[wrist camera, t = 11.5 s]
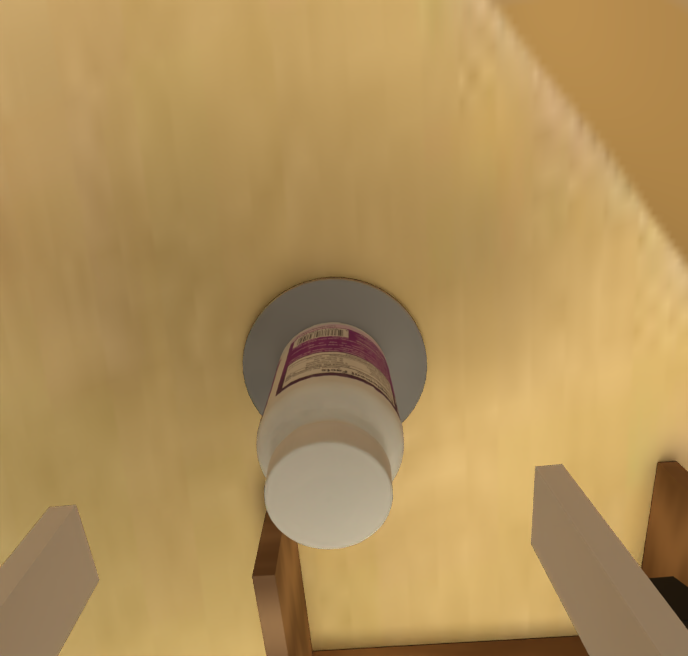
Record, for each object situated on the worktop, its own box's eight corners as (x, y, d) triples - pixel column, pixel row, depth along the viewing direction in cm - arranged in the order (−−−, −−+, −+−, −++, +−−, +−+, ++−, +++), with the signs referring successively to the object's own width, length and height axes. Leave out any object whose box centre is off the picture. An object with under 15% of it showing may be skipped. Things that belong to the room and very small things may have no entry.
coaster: (211, 384, 25) (208, 389, 24) (311, 239, 23) (310, 241, 22) (355, 470, 27) (355, 477, 26) (462, 345, 24) (464, 349, 24)
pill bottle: (355, 434, 25) (362, 592, 16) (261, 391, 24) (212, 532, 15) (408, 348, 24) (448, 469, 15) (309, 298, 23) (287, 394, 14)
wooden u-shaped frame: (645, 643, 31) (713, 753, 25) (298, 663, 32) (288, 774, 26) (676, 461, 26) (766, 544, 21) (271, 488, 27) (252, 576, 21)
